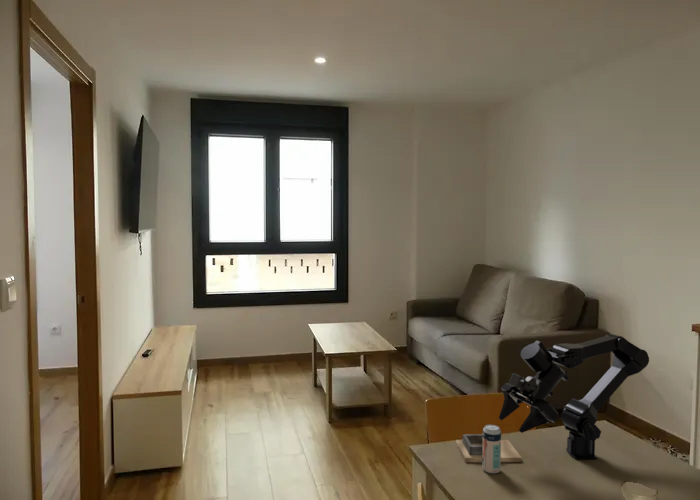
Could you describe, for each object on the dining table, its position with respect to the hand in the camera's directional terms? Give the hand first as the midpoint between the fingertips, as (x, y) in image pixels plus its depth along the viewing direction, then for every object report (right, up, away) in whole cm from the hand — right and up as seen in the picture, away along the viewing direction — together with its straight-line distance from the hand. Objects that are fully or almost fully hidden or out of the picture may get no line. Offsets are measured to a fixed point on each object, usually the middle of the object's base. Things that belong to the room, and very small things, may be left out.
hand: (509, 425), depth 142 cm
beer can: (-5, -12, -1) cm, 13 cm away
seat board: (-4, -11, +10) cm, 15 cm away
